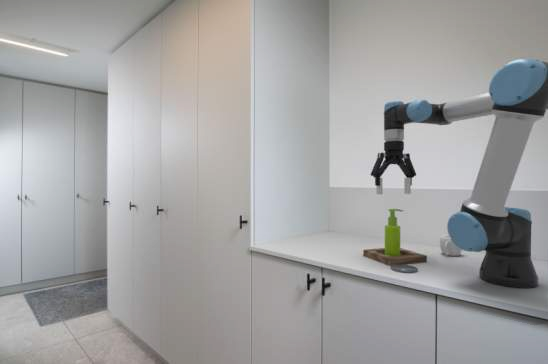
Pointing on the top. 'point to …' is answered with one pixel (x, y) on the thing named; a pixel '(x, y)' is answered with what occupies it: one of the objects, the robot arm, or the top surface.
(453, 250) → the mug
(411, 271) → the coaster
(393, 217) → the soap dispenser
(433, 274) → the top surface
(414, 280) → the top surface
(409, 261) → the pocket frame
